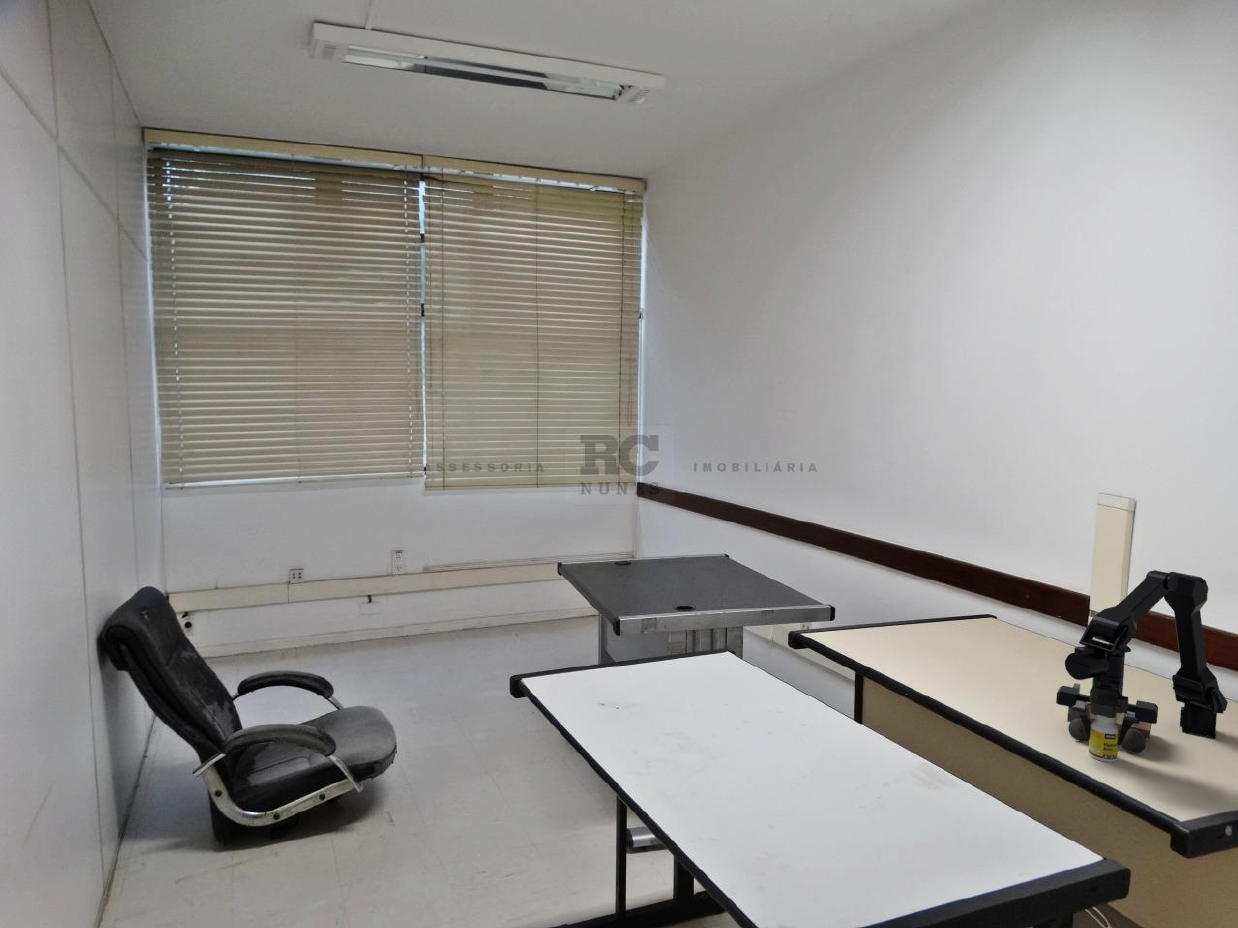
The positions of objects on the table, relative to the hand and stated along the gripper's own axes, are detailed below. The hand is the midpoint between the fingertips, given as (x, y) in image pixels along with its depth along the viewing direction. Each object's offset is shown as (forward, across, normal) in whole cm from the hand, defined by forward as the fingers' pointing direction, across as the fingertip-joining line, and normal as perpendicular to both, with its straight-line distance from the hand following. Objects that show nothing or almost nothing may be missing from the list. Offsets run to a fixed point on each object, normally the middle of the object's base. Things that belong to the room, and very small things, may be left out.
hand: (1103, 741), depth 176 cm
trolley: (+4, 0, +13) cm, 13 cm away
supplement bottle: (+4, 0, 0) cm, 4 cm away
